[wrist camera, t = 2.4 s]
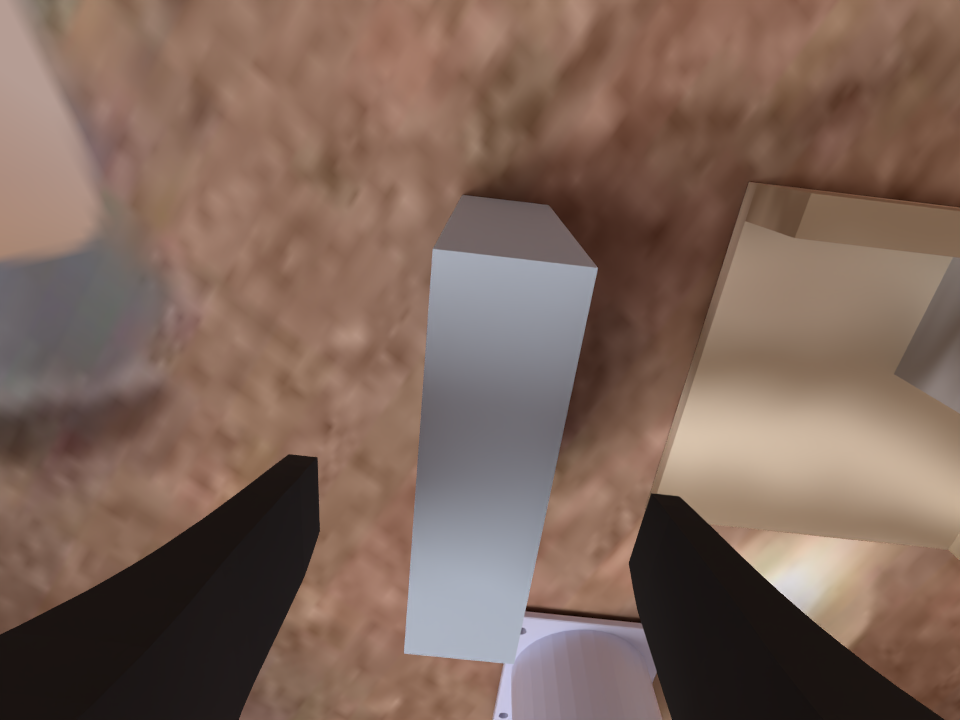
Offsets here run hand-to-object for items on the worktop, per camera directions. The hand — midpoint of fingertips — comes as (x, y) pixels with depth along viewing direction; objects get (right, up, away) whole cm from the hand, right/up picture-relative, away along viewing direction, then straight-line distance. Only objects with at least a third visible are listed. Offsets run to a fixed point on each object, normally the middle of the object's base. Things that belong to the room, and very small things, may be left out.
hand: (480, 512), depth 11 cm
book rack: (+16, +2, +9) cm, 19 cm away
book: (0, +4, +9) cm, 10 cm away
